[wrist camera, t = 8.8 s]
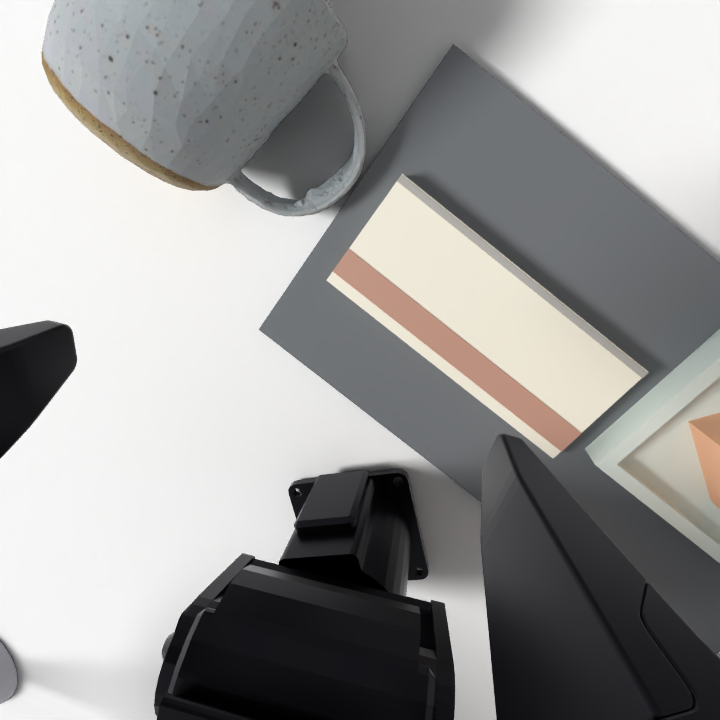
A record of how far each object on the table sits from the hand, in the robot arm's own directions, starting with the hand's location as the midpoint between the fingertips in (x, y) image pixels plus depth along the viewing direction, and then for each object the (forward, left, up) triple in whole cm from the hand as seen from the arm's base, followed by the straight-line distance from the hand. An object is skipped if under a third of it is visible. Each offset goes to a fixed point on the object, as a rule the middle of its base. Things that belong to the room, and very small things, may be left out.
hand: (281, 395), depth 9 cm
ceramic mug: (+10, +2, -13) cm, 16 cm away
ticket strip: (-2, -5, -12) cm, 13 cm away
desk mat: (-6, -9, -12) cm, 16 cm away
